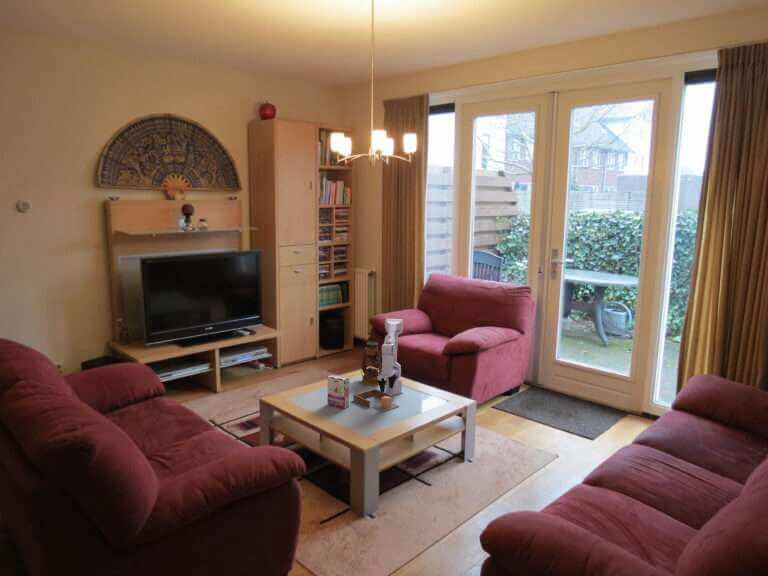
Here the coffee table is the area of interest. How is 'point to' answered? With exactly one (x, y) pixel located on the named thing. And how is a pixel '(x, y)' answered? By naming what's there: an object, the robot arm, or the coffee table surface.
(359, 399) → the walnut arch
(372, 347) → the lantern
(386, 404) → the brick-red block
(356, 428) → the coffee table surface
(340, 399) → the candy bar box
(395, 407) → the grey mat
